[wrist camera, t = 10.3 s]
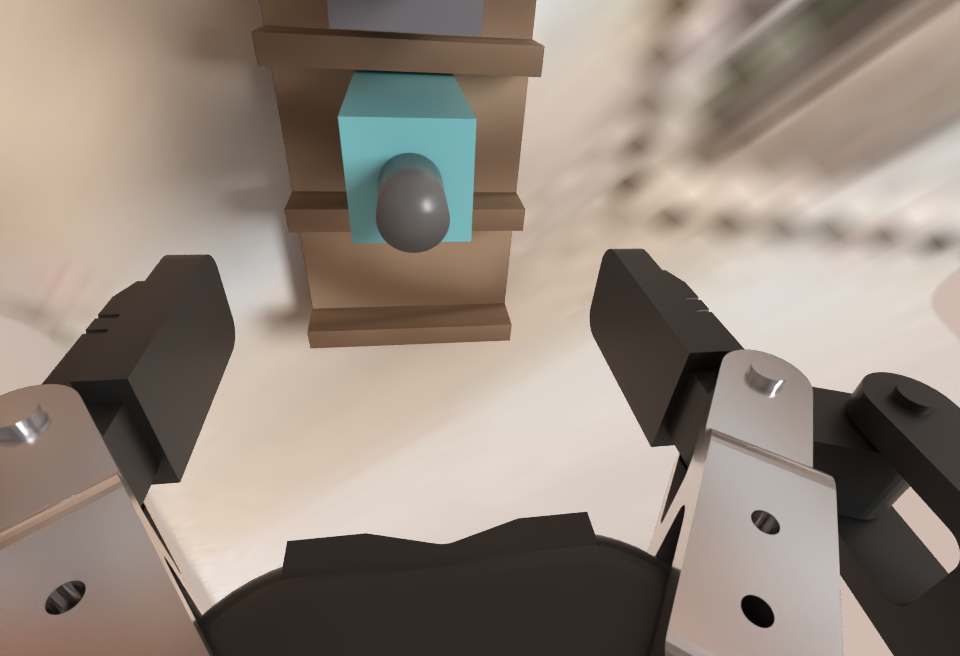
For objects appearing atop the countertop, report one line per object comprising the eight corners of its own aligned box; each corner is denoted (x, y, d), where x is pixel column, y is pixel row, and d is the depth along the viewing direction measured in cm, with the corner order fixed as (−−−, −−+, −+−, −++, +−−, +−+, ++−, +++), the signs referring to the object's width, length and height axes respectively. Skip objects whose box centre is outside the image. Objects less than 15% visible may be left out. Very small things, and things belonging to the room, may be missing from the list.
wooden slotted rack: (232, -214, 15) (199, -249, 13) (546, -177, 17) (574, -202, 14) (318, 311, 27) (310, 348, 24) (499, 306, 28) (509, 340, 26)
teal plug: (356, 64, 19) (327, 144, 11) (449, 67, 19) (490, 146, 11) (364, 158, 21) (346, 285, 13) (448, 159, 22) (482, 281, 13)
